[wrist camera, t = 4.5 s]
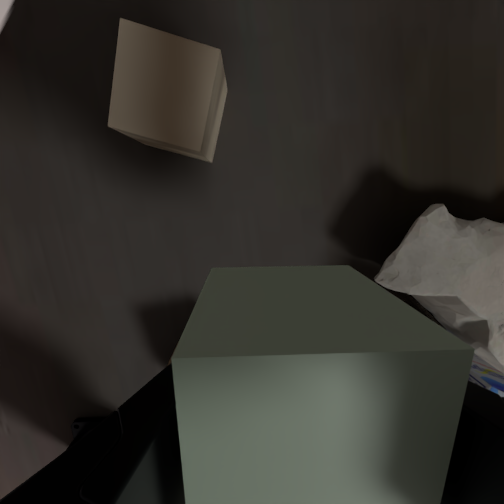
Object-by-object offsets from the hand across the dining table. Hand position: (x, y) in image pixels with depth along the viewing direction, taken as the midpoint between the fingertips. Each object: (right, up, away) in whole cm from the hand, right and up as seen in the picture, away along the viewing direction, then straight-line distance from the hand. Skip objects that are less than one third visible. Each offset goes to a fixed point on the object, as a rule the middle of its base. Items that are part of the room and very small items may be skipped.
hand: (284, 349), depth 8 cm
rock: (+19, +2, +13) cm, 23 cm away
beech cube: (-6, +13, +9) cm, 17 cm away
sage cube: (0, 0, +1) cm, 1 cm away
